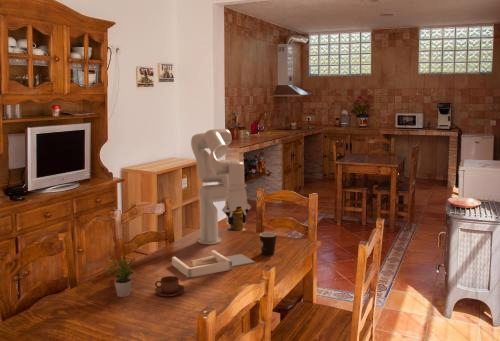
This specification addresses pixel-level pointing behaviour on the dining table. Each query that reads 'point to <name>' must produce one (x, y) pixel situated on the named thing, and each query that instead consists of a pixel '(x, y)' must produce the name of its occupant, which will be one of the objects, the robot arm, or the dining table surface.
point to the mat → (239, 260)
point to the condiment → (237, 221)
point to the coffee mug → (268, 243)
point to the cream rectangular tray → (204, 266)
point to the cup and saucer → (169, 286)
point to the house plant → (122, 277)
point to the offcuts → (204, 261)
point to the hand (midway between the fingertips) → (236, 223)
